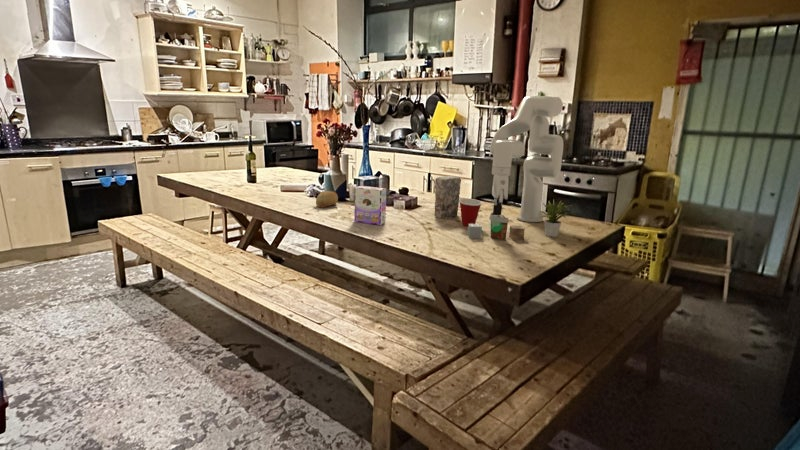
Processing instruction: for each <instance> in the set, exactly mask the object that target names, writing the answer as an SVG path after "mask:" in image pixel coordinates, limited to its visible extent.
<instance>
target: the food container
mask: <svg viewBox="0 0 800 450" xmlns="http://www.w3.org/2000/svg"><path fill="white" fill-rule="evenodd" d="M488 219H489V220H490V238H491V239H493V240H497V241H506V239H507V232H508V226H509V217H505V215H503V214H501V215H494V214H493V211H492V212H490V214H489V218H488Z"/></svg>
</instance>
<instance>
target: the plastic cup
mask: <svg viewBox="0 0 800 450" xmlns="http://www.w3.org/2000/svg"><path fill="white" fill-rule="evenodd" d="M482 205H483V202H482V201H481V200H478V199H475V198H469V197H468V198H459V206H460V218H461V224H462V226H463V227H464V228H468V224H477V219H478V215H479V211H480V208H481V206H482Z"/></svg>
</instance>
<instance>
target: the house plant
mask: <svg viewBox="0 0 800 450" xmlns="http://www.w3.org/2000/svg"><path fill="white" fill-rule="evenodd" d="M564 203H565V202H562V199H561V200H560V201H559V202H558V204H556V203H555V198H553V200H552V203H551V201H550V199H549V200H548V204H545V203H544V202H542V205H543V206H544V207H545V209H546V210H547V211H546V212H545V211H542V210H540V212H542V213H544V214H546V213H547V214H548V215H547V214H546V215H547V216H548V217H546V218H547V219H545V220H544V234H545V236H546V235H547V237H551V236H552V237H551V238H553V237H554V238H556V237H558V235H559V232H560V227H561V224H562V222H561V221H560V220H559V219H561V218H562V217H563V218H565V219H567V214H568V212H565V213H562V212H563V211H569V210H571V209H570V208H569V207H571V206H573V204H571V205H565V206H563V205H564Z"/></svg>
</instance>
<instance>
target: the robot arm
mask: <svg viewBox="0 0 800 450" xmlns="http://www.w3.org/2000/svg"><path fill="white" fill-rule="evenodd" d="M563 105H564V104H563V100H562V98H561V97H560V96H547V95H544V96H543V95H528V96H524V98H523V99H522V100H521V101H520V104H519V105H518V108H517V110H516V112H515V114H514V116H513V119H511V120H510V121H508V122H506V123H505V124H504V125H502V126H501V127H500V128H499V129H497V131H496V132H495V134H494V136H493V137H492V140H491V143H490V146H489V147H490V148H489V151H490V152H489V153H490V154H491V155H492V167H491V174H492V175H493V179H492V186H491V187H492V188H491V189H492V190H491V196H493V198H494V199H493V209H492V212H493V214H494V215H502V209H503V202H504V201H503V200H508V197H509V176H511V171H512V161H513V160H512V159H520V158H522V157H523V155H524V154H525V151H526V147H525V144H524V142H522V141H521V140H516V139H509V138H511V137H514V136H517V135H520V134H523V133H527V132H529V139H528V151H529V152H530V153H532V154H537V155H538V154H539V155H545V156H535V155H534V156H528V157H526V158H525V159H524V161H523V165H522V166H523V167H522V168H523V186H522V196H521V203H520V214H518V215H516V219H517V220H518V221H520V222H521V221H522V222H524V223H525V222H526V223H541V222H543V219H544V218H547V217H548V216H547V215H548V214H547V213H548V212H545V213H546V214H547V215H546V214H544V213H542V212H540V211H542V209H541V208H542V203H543V202H542V200H543V192H544V183H543V181H542V180H541V178H548V179H557V178H558V177H559V175H560V173H561V169H562V162H563V153H564V139H563V137H562V136H561V135H558V134H549V133H550V131H549V130H550V122H549V119H548V118H547V117H558V116H559V115H560V114H561V112H562V110H563ZM546 155H549V156H550V157H546Z"/></svg>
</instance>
